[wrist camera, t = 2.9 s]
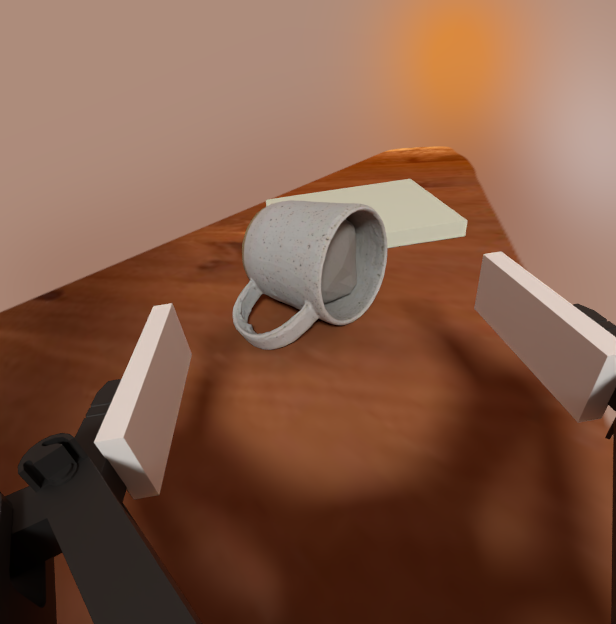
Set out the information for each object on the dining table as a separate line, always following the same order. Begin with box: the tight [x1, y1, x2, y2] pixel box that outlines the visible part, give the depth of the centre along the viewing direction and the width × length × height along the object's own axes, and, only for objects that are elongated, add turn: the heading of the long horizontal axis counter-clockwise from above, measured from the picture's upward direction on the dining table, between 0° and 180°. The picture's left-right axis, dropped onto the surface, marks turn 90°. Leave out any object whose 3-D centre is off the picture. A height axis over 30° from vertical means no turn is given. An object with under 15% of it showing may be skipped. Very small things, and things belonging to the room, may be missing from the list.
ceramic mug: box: [233, 200, 387, 350], centre depth 25 cm, size 11×8×8 cm
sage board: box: [266, 179, 467, 248], centre depth 40 cm, size 18×15×2 cm
